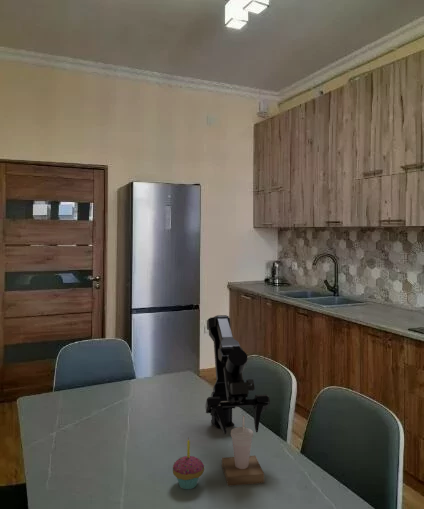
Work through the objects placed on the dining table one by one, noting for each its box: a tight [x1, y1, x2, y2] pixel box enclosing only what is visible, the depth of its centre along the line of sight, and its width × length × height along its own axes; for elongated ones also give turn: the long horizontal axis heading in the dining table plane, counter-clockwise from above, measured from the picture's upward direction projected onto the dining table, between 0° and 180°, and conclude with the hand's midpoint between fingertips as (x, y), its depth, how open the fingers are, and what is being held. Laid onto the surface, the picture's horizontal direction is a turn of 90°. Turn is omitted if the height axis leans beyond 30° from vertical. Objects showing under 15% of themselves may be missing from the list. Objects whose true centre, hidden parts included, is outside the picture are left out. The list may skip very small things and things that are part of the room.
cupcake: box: [172, 436, 205, 490], centre depth 114 cm, size 9×8×12 cm
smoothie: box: [230, 415, 254, 469], centre depth 119 cm, size 6×6×14 cm
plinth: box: [221, 455, 265, 487], centre depth 120 cm, size 10×10×2 cm
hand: (241, 432), depth 121 cm, fingers open, 9 cm apart
